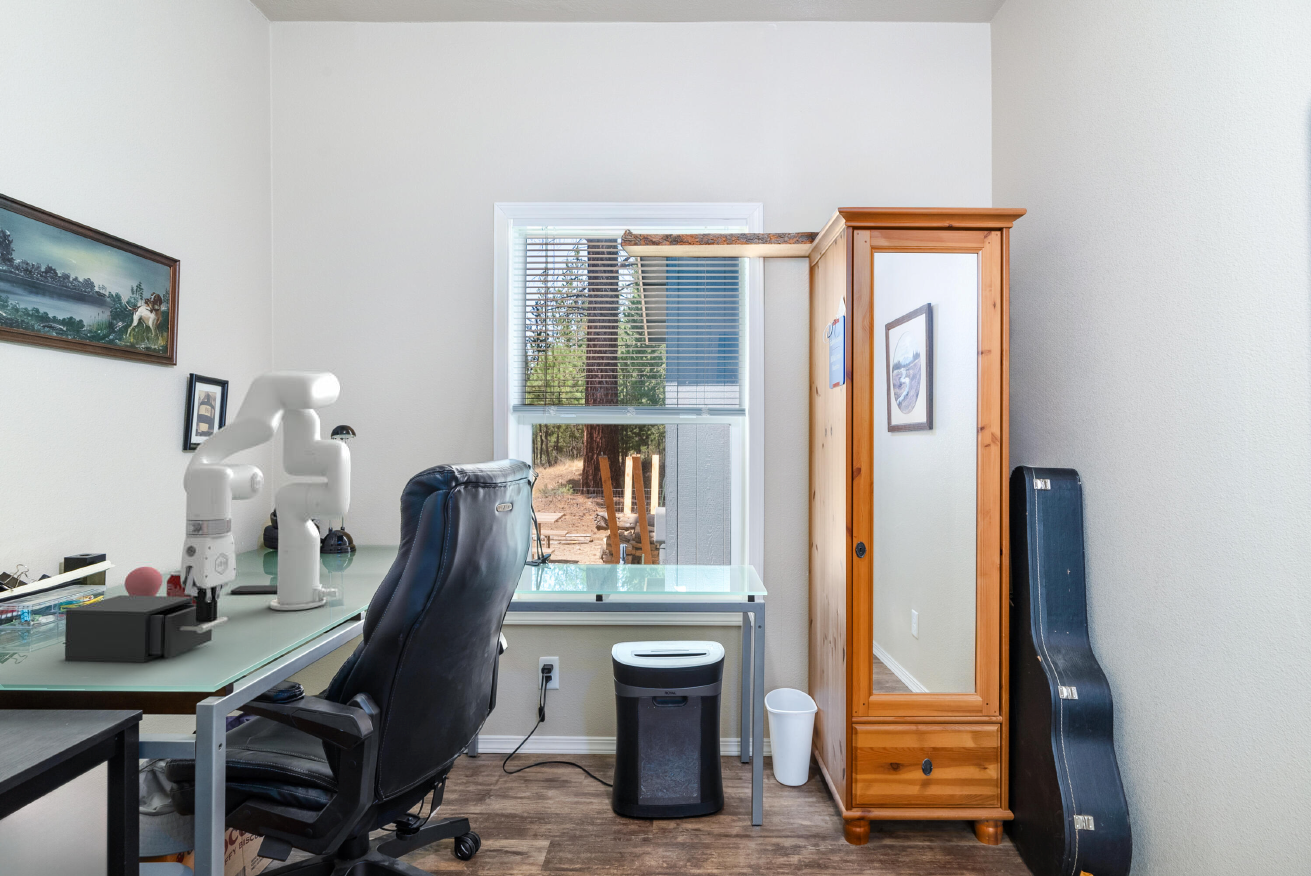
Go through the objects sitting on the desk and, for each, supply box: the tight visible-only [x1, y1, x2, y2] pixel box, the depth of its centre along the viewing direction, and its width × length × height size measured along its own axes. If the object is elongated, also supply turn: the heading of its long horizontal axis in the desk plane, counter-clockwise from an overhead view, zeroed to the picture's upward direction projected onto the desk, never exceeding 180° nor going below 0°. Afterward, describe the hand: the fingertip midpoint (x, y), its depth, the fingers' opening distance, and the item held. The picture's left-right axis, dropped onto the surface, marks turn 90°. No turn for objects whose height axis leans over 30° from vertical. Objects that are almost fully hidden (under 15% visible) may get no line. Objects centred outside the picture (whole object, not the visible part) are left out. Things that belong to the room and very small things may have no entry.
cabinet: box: [64, 594, 193, 664], centre depth 136 cm, size 16×13×10 cm
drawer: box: [148, 604, 228, 658], centre depth 136 cm, size 19×11×8 cm, turn 88°
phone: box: [230, 584, 278, 594], centre depth 191 cm, size 7×1×15 cm
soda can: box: [165, 569, 196, 604], centre depth 156 cm, size 7×7×12 cm
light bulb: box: [124, 566, 163, 596], centre depth 161 cm, size 7×7×12 cm
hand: (206, 620), depth 135 cm, fingers closed
